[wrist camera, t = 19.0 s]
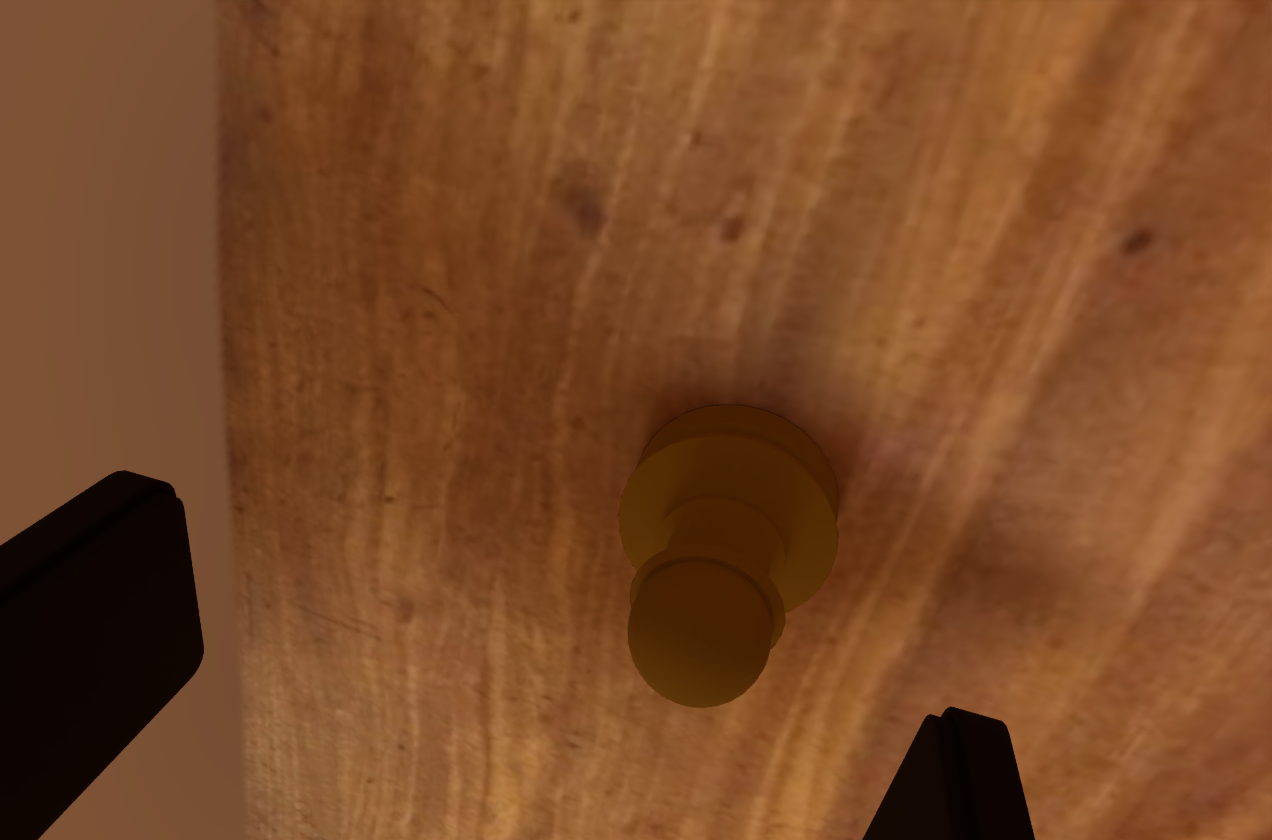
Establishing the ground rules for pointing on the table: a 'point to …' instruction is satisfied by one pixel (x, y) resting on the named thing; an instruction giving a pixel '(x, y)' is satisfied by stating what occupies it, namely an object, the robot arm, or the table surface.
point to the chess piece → (723, 547)
